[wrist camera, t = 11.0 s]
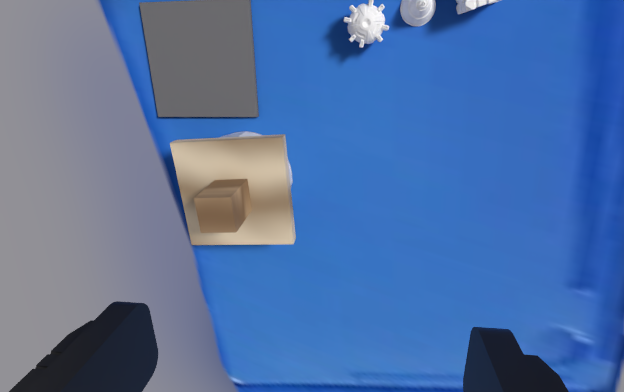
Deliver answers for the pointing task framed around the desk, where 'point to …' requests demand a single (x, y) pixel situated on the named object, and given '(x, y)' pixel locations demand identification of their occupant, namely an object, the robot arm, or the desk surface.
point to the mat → (201, 57)
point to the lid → (235, 190)
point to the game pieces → (414, 11)
